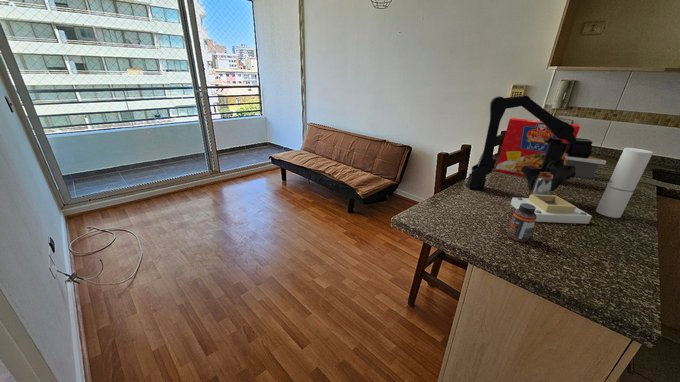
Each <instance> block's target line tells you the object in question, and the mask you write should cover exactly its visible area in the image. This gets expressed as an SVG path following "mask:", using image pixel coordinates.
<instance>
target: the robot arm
mask: <svg viewBox="0 0 680 382" xmlns="http://www.w3.org/2000/svg"><path fill="white" fill-rule="evenodd" d="M518 107H522V108H523V109H524V110H526V111H527V112H528V113H530V114H531V115H533V116H534V117H535V118H536V119H538V121H542V122H543V123H544V124H545V125H546V126H547V128H548V129H549V130H550V131H551V133H552V134H553V135H555V136H556V137H558V138H559V139H552V137H551V136H549V137H548V138H546V139H544V140H543V141H544V142H545V143H549V144H548V147H547V150H546V153H545V155H542V158H544V159H543V162H542V165H539V166H538V167H539V168H540V169H538V168H536V167H534V166H523V167H522V169H521V172H523V174H525V175H526V178H525V179H526V181H527V186H528V191H531V192H533V190H534V187H535V184H536V182H537V180H536V179H538V178H539V177H537V176H538V175H539V174H540V173H544V174H552V175H553V182H552V185H551V188H550V191H551V192H555V190H556V189H558V187H559V186H560V185H561V184H562V183H563V182H564V181H567V180H571V178H573V179H574V178H575V177H576V176H575V174H576V172H575V169H576V168H575V166H566V165H564V159H562V157H563V154H564V152H565V153H566V154H567V155H568V157H576V158H584V159H587V158H588V157H591V154H592V152H593V151H592V150H593V145H592V144H593V141H592V140H591V141H589V140H590V139H589V140H576V138H577V137H576V138H575V136H574V134H573V133H574V127H573V126H572V125H570V124H571V123H568V122H566V121H564V120H563V119H559V118H557V117H555V116H554V115H553V114H551V113H550V112H548V111H547V110H546V109H545V108H543V107H542V106H540V105H539V104H538V103H536V102H535V101H534V100H533V99H531V98H530V96H528V95H525V94H523V95H518V96H511V97H510V96H509V97H503V96H495V97H493V98H492V99H491V100H490V103H489V122H488V127H487V132H486V137H485V141H484V147H483V150H482V153H481V155H480V157H479V159H478V161H477V164H475V165H473V166H472V167H471V173H469V174H468V178H467V181H466V183H464V185H465V186H466V187H467V188H468V189H469V190H472V191H473V190H474V191H476V190H477V191H485V185H486V183H487V175H489V174H490V173H492V172H493V170H494V169H495V170H496V167H495V165H496V163H497V158H496V155H495V156H494V150H495V146H496V141H497V137H498V132H499V128H500V123H501V120H502V118H503V116H504V114H505V112H506V109H513V108H518ZM561 139H565V140H566V141H568V142H569V143H567V142H562V140H561ZM566 146H567V147H566ZM565 149H566V150H565Z"/></svg>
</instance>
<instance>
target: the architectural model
mask: <svg viewBox="0 0 680 382" xmlns="http://www.w3.org/2000/svg"><path fill="white" fill-rule="evenodd" d="M576 140H589V141H592V140H591V139H589V138H588V139H587V138H581V137H580V138H578V137H576ZM606 163H607V160H605V159H602V158H597V157H593V156H589V157H588V158H587V159H584V158H576V157H569V158H568V160H567V163H566V166H575V168H576V169H575V172H576V174H575V177H576V178H577V177H578V178H584V179H591V180H593V179H594V175H595V174H596V171H597V169H598V167H599V165H605V166H606Z"/></svg>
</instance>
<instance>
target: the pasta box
mask: <svg viewBox="0 0 680 382" xmlns="http://www.w3.org/2000/svg"><path fill="white" fill-rule="evenodd" d="M569 124H570V125H572V126H573V127H574V133H573V134H574V136H575V138H578V137H577V136H578V134H579V131H580V129H581V125H580V124H574V123H569ZM549 136H551V137H552V139H559V138H558V137H556V136H555V135H553V134H552V133H551V131H550V130H549V129H548V128H547V126H546V125H545V124H544V123H543V122H542V121H540V120H534V119H524V118H517V117H516V118H515V117H510V119H509V120H508V124H507V127H506V131H505V134H504V136H503V137H504V138H503V142H502V145H501V148H500V152H499V156H498V159H497V162H496V166H495V170H494V172H495V173H498V174H500V173H501V174H505V175H510V176H514V177H520V178H525V179H527V178H526V175H525V174H523V172H521V169H522V167H523V166H534V167H536V168H538V169H540V168H539V167H538V166H539V165H542V162H543V159H544V158H542V155H545V153H546V150H547V147H548V144H549V143H545V142H544V141H543V140H544V139H546V138H548V137H549ZM561 140H562V142H567V143H569V142H568V141H566V140H565V139H561ZM566 147H567V146H566ZM565 150H566V149H565ZM568 158H569V157H568V155H567V154H566V153H565V152H564V154H563V157H562V159H564V165H566V163H567V160H568ZM537 177H547V178H550V179H552V180H553V175H552V174H544V173H540V174H539V175H538V176H537ZM536 181H537V179H536Z"/></svg>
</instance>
